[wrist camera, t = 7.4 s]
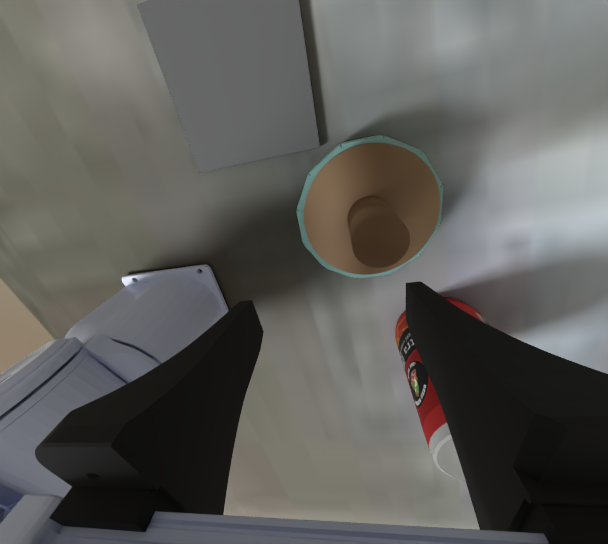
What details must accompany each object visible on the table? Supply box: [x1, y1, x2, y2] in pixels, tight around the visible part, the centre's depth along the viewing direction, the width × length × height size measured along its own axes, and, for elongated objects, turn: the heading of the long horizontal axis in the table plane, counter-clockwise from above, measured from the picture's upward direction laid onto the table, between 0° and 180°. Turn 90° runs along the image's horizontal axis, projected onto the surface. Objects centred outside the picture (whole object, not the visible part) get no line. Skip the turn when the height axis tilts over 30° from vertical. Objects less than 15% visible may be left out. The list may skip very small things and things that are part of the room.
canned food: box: [395, 298, 490, 482], centre depth 19 cm, size 8×8×11 cm
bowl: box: [296, 135, 444, 278], centre depth 17 cm, size 9×9×3 cm
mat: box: [137, 0, 320, 173], centre depth 15 cm, size 9×9×1 cm
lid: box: [304, 143, 440, 275], centre depth 13 cm, size 8×8×5 cm
